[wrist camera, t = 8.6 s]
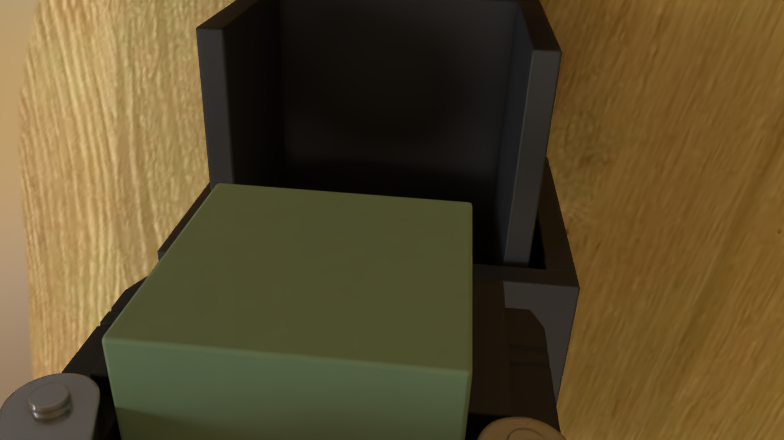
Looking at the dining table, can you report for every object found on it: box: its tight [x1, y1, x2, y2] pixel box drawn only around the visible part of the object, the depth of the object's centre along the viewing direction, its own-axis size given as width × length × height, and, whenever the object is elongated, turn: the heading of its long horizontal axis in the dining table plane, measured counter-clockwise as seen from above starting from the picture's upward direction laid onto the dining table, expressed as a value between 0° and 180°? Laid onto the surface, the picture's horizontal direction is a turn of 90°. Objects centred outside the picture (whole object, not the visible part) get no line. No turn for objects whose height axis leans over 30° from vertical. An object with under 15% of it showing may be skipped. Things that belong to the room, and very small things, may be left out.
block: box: [102, 183, 472, 440], centre depth 12 cm, size 5×5×5 cm
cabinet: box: [158, 157, 580, 405], centre depth 29 cm, size 15×13×10 cm
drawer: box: [196, 0, 562, 268], centre depth 23 cm, size 18×12×8 cm, turn 178°
